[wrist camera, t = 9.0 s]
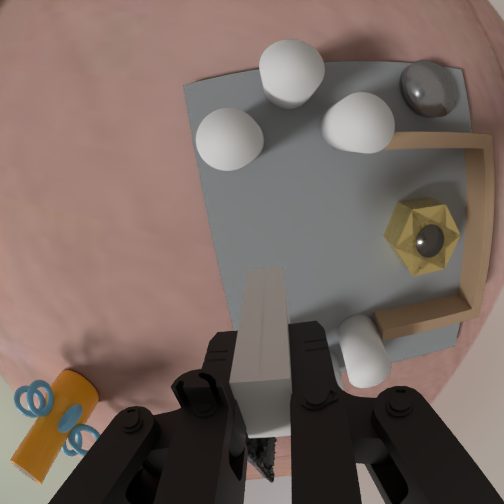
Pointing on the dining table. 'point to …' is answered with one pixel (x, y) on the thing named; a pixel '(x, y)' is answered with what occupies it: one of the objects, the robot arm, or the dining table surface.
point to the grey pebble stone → (427, 89)
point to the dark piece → (262, 455)
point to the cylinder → (54, 422)
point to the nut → (422, 235)
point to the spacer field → (342, 200)
